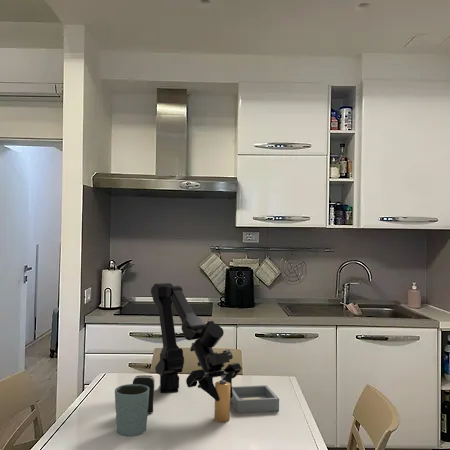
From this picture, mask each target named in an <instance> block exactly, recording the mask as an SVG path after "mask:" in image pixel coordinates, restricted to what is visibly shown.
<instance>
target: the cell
mask: <svg viewBox="0 0 450 450" xmlns="http://www.w3.org/2000/svg"><path fill="white" fill-rule="evenodd" d="M214 386H215V389H216V391H217V393H218V396H219V399H220V400H219V401H216V400H215V399H214V415H213V416H214V421H216V422H219V423H225V422H228V421H230V419H231V418H230V417H231V402H230V383H229V382H226V380H222V379H220V380H219V381H216V382H215V383H214Z"/></svg>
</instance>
